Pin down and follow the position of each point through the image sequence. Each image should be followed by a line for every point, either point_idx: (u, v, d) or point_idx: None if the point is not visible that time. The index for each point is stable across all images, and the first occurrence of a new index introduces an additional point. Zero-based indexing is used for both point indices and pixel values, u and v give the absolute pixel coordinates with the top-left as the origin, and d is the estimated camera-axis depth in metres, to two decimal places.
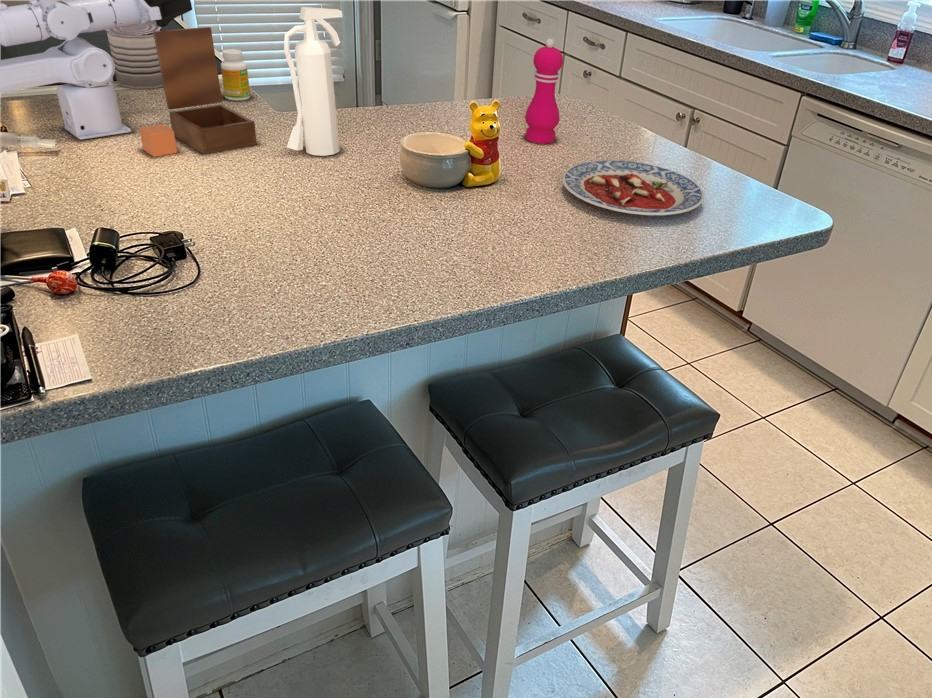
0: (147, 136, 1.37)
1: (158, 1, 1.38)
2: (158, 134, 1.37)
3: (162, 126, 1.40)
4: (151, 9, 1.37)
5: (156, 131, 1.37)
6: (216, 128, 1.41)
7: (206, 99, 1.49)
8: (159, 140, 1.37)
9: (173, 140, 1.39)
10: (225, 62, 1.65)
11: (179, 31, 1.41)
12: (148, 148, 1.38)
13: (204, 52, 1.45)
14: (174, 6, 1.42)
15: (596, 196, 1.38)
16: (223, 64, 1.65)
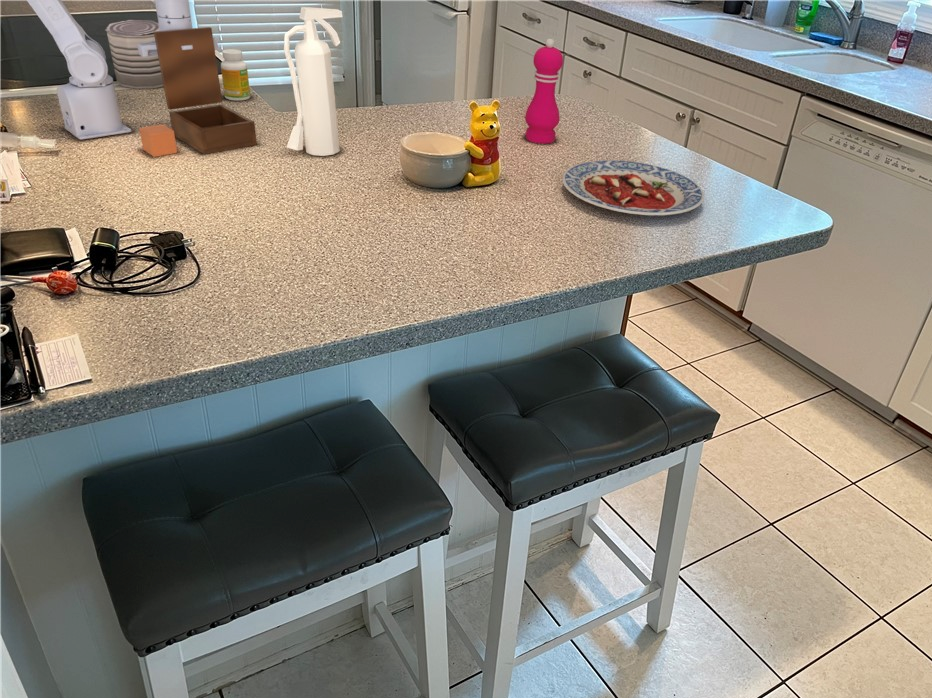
0: (147, 136, 1.37)
1: None
2: (158, 134, 1.37)
3: (162, 126, 1.40)
4: (141, 48, 1.40)
5: (156, 131, 1.37)
6: (216, 128, 1.41)
7: (206, 99, 1.49)
8: (159, 140, 1.37)
9: (173, 140, 1.39)
10: (225, 62, 1.65)
11: (180, 31, 1.40)
12: (148, 148, 1.38)
13: (204, 52, 1.45)
14: None
15: (596, 196, 1.38)
16: (223, 64, 1.65)
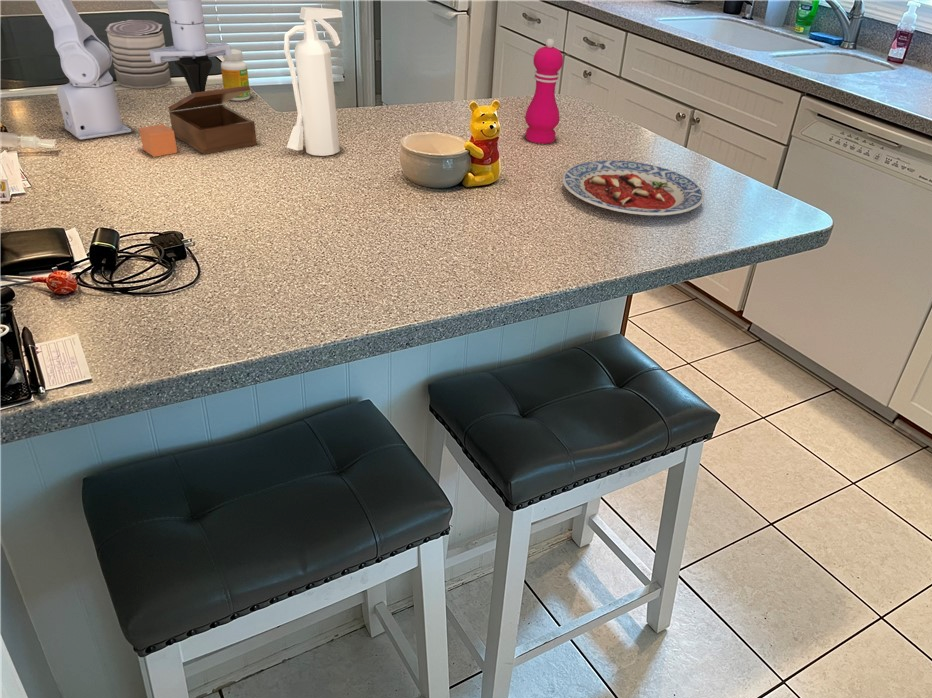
0: (147, 136, 1.37)
1: (183, 65, 1.40)
2: (158, 134, 1.37)
3: (162, 126, 1.40)
4: (154, 55, 1.37)
5: (156, 131, 1.37)
6: (216, 128, 1.41)
7: (208, 105, 1.49)
8: (159, 140, 1.37)
9: (173, 140, 1.39)
10: (225, 62, 1.65)
11: (218, 94, 1.38)
12: (148, 148, 1.38)
13: (231, 95, 1.44)
14: (191, 81, 1.44)
15: (596, 196, 1.38)
16: (223, 64, 1.65)
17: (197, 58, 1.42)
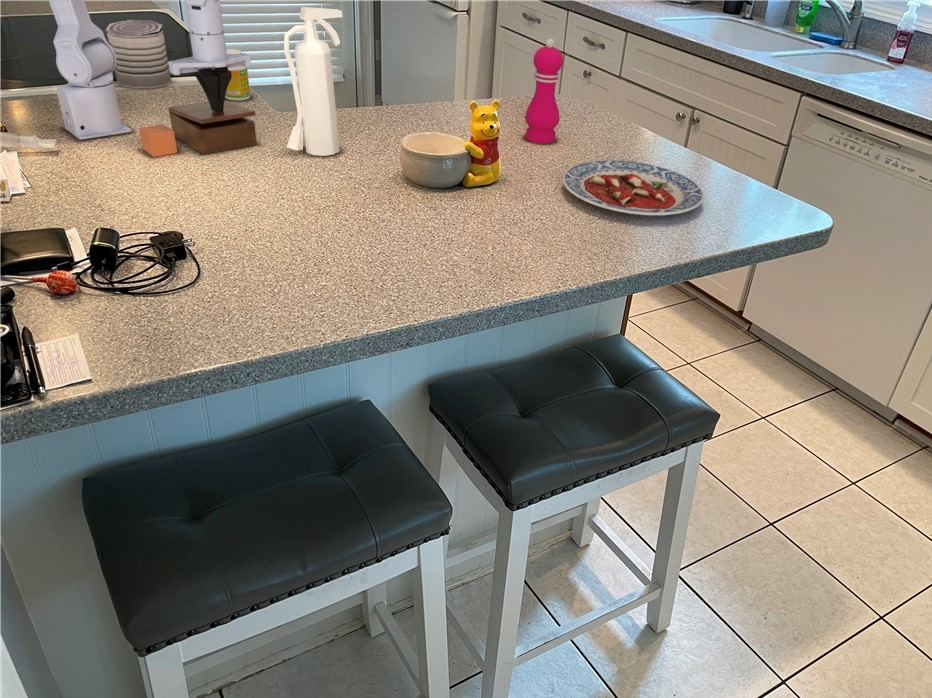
0: (147, 136, 1.37)
1: (202, 76, 1.36)
2: (158, 134, 1.37)
3: (162, 126, 1.40)
4: (173, 66, 1.33)
5: (156, 131, 1.37)
6: (216, 128, 1.41)
7: None
8: (159, 140, 1.37)
9: (173, 140, 1.39)
10: None
11: None
12: (148, 148, 1.38)
13: None
14: (210, 92, 1.40)
15: (596, 196, 1.38)
16: None
17: (216, 69, 1.38)
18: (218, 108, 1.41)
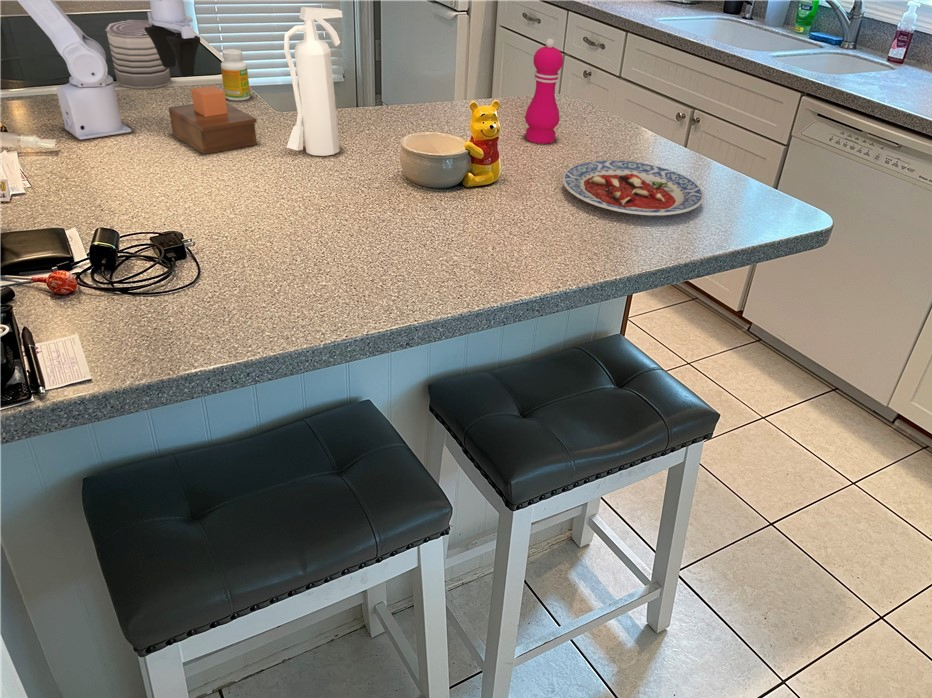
0: (199, 96, 1.41)
1: (195, 39, 1.41)
2: (210, 94, 1.41)
3: (213, 87, 1.44)
4: (192, 29, 1.38)
5: (208, 92, 1.42)
6: None
7: None
8: (210, 100, 1.42)
9: (224, 101, 1.43)
10: (225, 62, 1.65)
11: None
12: (200, 108, 1.42)
13: None
14: (186, 57, 1.43)
15: (596, 196, 1.38)
16: (223, 64, 1.65)
17: None
18: None
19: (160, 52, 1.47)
